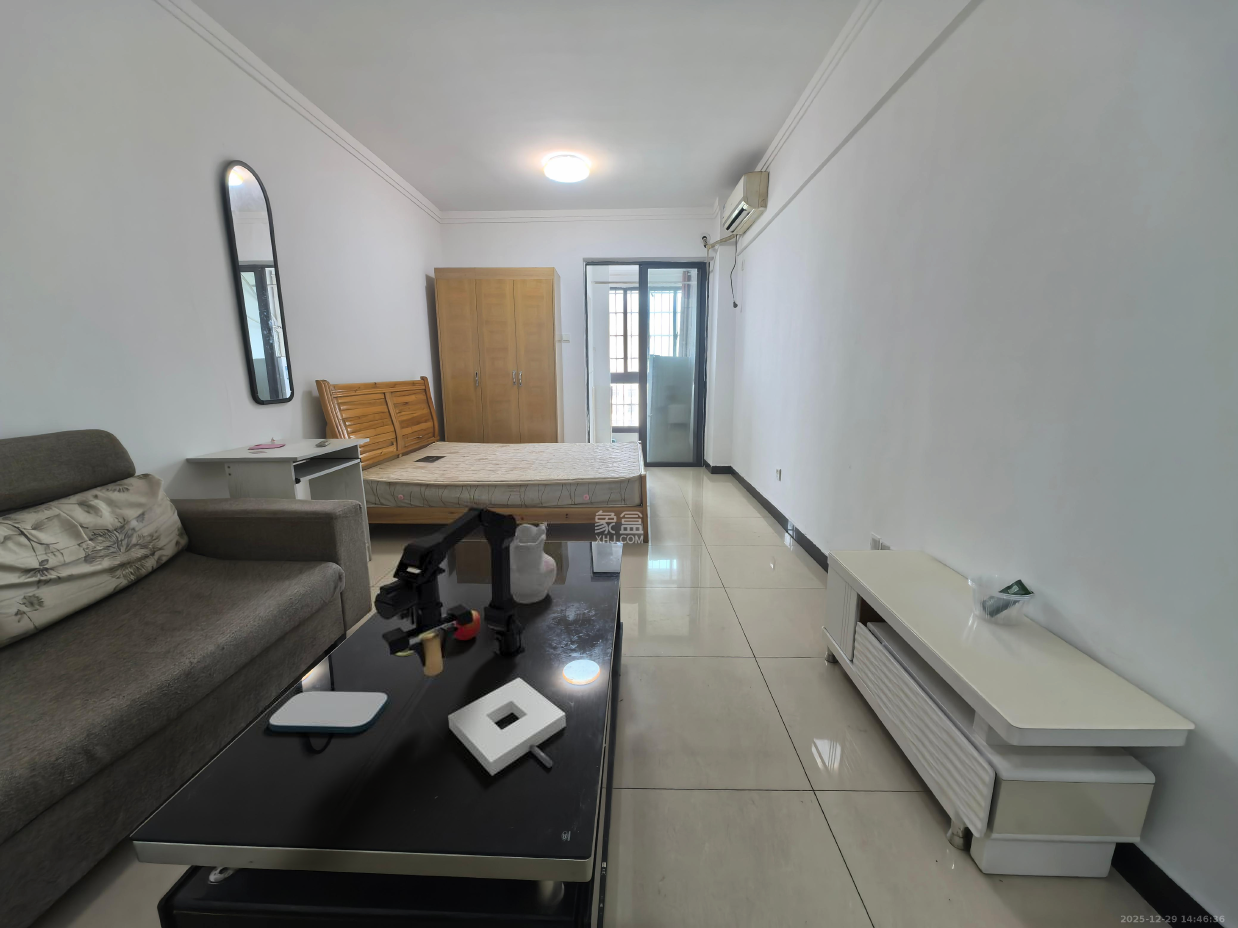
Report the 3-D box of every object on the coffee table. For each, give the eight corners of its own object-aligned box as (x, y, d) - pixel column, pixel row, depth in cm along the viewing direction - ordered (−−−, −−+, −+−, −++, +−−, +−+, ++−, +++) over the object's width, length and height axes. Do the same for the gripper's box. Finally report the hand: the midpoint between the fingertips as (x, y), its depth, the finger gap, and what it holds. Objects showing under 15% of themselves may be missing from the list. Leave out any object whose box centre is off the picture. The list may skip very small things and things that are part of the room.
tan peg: (438, 662, 110) (435, 631, 109) (446, 669, 107) (442, 637, 106) (421, 670, 108) (417, 638, 106) (428, 677, 105) (425, 645, 103)
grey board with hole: (519, 688, 116) (519, 677, 115) (585, 741, 98) (584, 728, 98) (449, 727, 103) (448, 715, 103) (510, 796, 86) (509, 782, 85)
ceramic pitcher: (549, 615, 152) (551, 542, 147) (489, 611, 152) (489, 538, 148) (559, 586, 173) (561, 521, 169) (506, 582, 174) (507, 517, 169)
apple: (445, 641, 137) (442, 609, 135) (467, 627, 144) (464, 596, 142) (466, 648, 133) (463, 615, 131) (487, 633, 140) (484, 602, 138)
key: (435, 634, 141) (434, 627, 141) (408, 658, 130) (407, 651, 129) (414, 632, 143) (413, 625, 143) (386, 655, 131) (385, 648, 131)
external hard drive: (394, 699, 113) (393, 692, 113) (366, 735, 102) (365, 727, 102) (300, 697, 115) (298, 690, 114) (262, 733, 103) (260, 725, 103)
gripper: (449, 574, 116) (455, 632, 119) (368, 601, 103) (376, 665, 106) (471, 588, 108) (477, 649, 111) (386, 618, 96) (395, 687, 99)
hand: (432, 661), depth 107 cm, fingers closed on tan peg, 4 cm apart
